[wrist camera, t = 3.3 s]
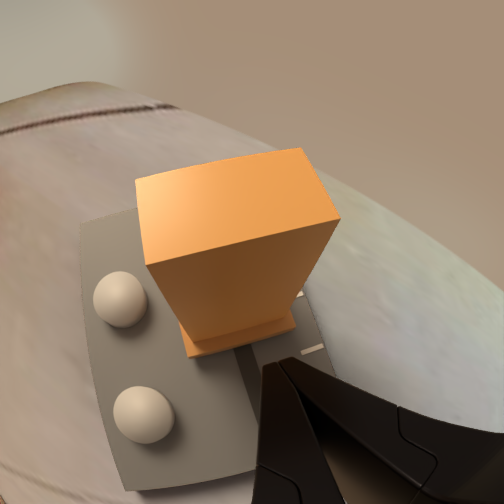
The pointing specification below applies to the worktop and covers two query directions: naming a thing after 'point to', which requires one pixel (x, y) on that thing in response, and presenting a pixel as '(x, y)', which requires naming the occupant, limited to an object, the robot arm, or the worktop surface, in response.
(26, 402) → the worktop surface
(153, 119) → the worktop surface
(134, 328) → the console board
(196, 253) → the fader tab
